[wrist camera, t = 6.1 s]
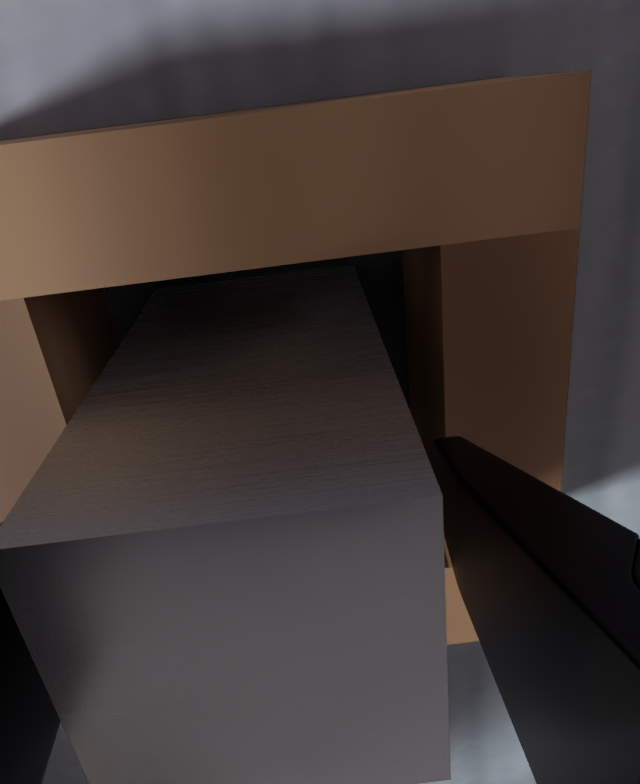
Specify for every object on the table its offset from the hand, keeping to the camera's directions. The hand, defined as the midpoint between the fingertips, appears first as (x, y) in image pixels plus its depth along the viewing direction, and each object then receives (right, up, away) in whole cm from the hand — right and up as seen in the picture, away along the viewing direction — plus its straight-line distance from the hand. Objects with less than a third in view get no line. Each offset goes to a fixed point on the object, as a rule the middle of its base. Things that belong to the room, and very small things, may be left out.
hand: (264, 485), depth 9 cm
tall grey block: (0, +2, +4) cm, 5 cm away
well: (0, +2, +4) cm, 4 cm away
